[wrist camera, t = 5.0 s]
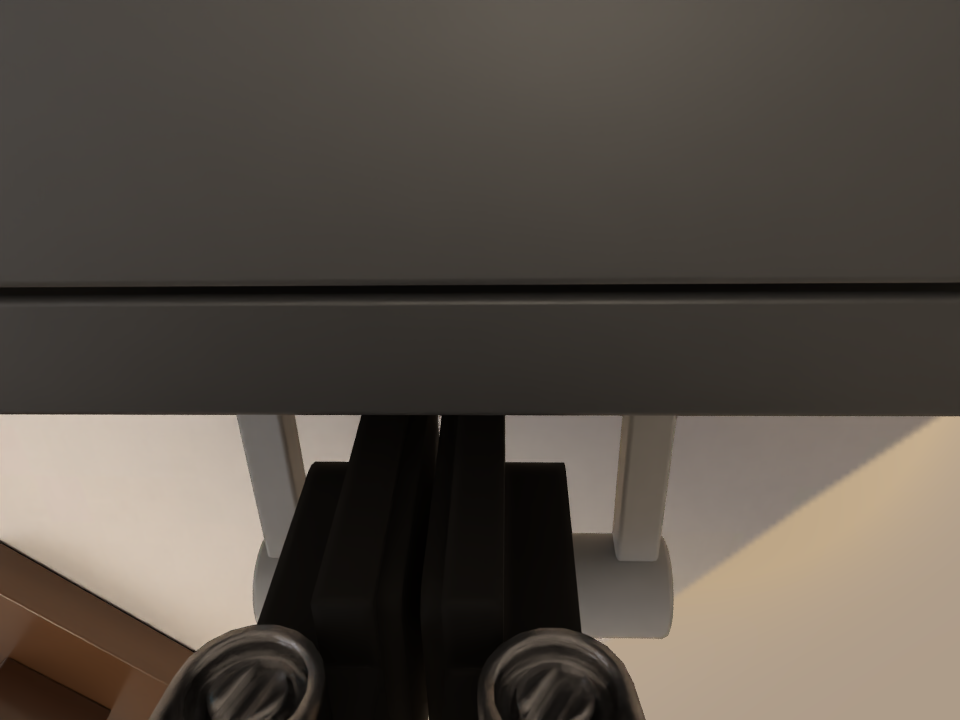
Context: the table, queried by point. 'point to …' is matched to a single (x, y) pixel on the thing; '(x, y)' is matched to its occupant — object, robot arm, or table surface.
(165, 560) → the table surface
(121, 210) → the dark grey cabinet
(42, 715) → the stand
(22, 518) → the table surface
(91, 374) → the drawer
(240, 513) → the table surface
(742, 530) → the table surface
